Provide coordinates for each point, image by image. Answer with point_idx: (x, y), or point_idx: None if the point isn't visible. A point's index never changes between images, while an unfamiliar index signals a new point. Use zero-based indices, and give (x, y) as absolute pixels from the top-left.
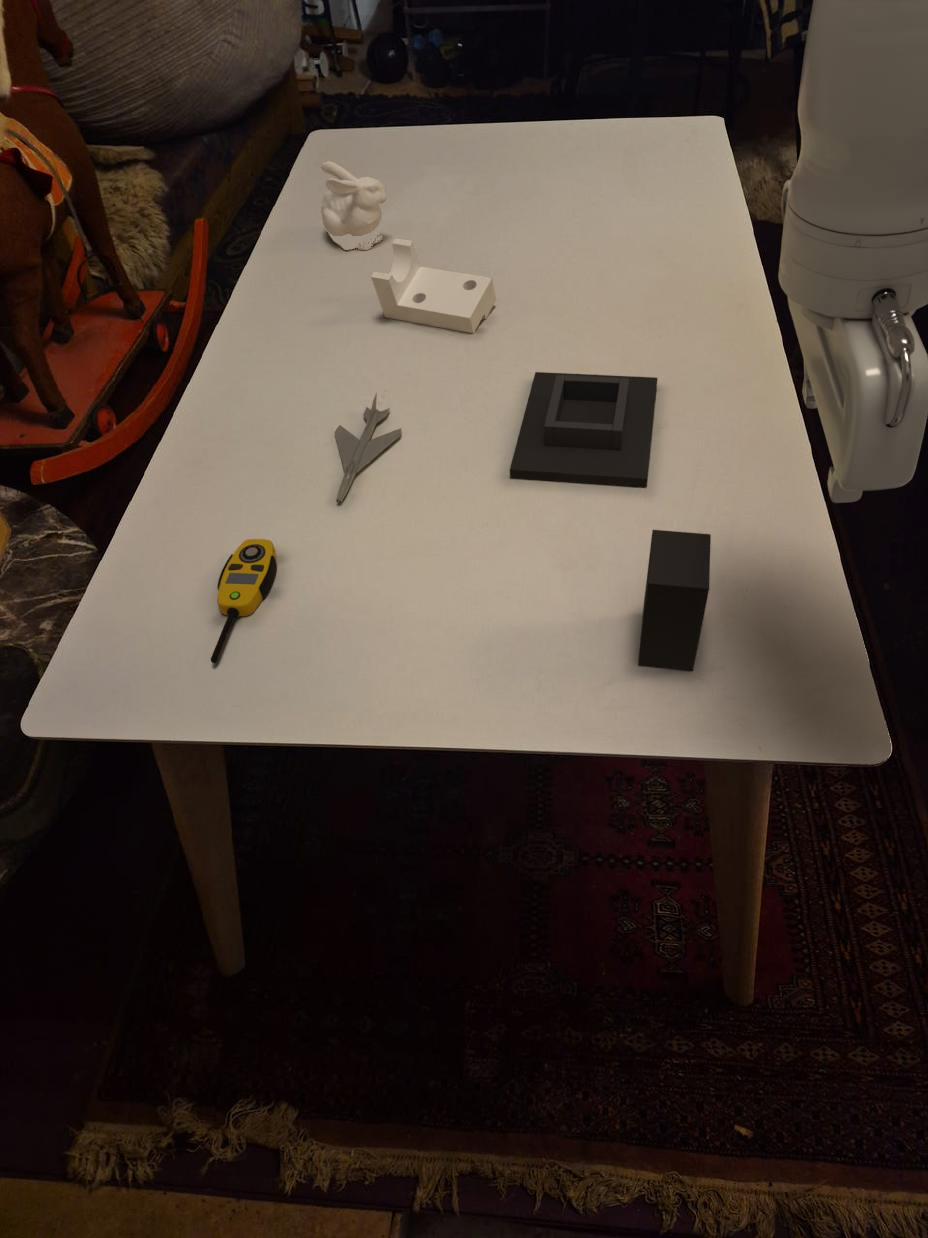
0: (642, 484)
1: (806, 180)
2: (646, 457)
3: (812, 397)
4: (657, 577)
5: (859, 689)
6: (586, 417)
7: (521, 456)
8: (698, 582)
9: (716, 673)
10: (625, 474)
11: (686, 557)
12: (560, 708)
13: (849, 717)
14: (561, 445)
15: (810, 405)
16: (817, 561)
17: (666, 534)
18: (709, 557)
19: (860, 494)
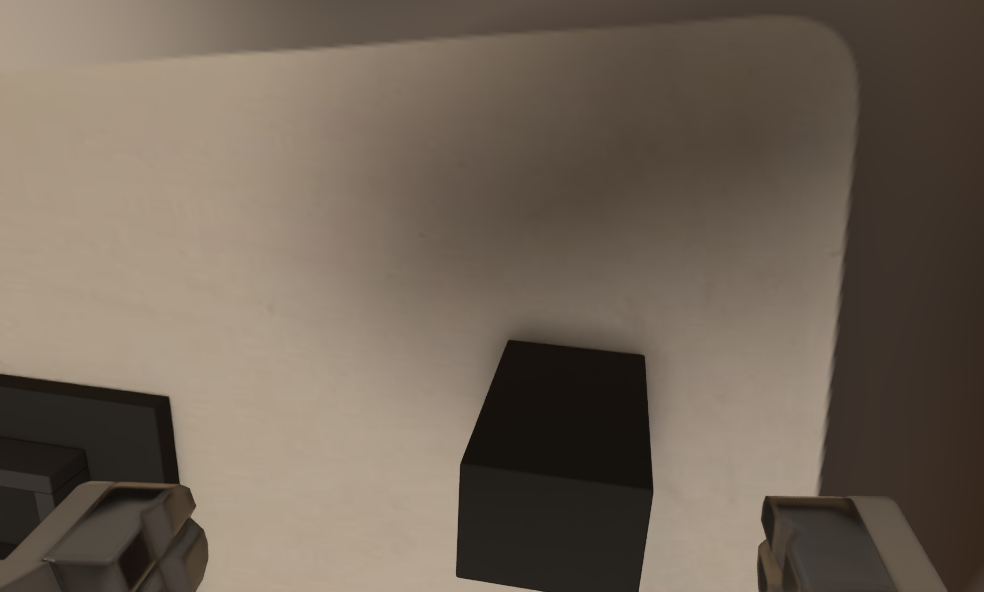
0: (165, 408)
1: None
2: (93, 405)
3: (171, 587)
4: (616, 587)
5: (685, 34)
6: (7, 502)
7: None
8: (632, 510)
9: (647, 313)
10: (152, 446)
11: (547, 524)
12: (731, 566)
13: (762, 67)
14: None
15: (199, 559)
16: (319, 77)
17: (470, 552)
18: (543, 475)
19: (904, 520)
